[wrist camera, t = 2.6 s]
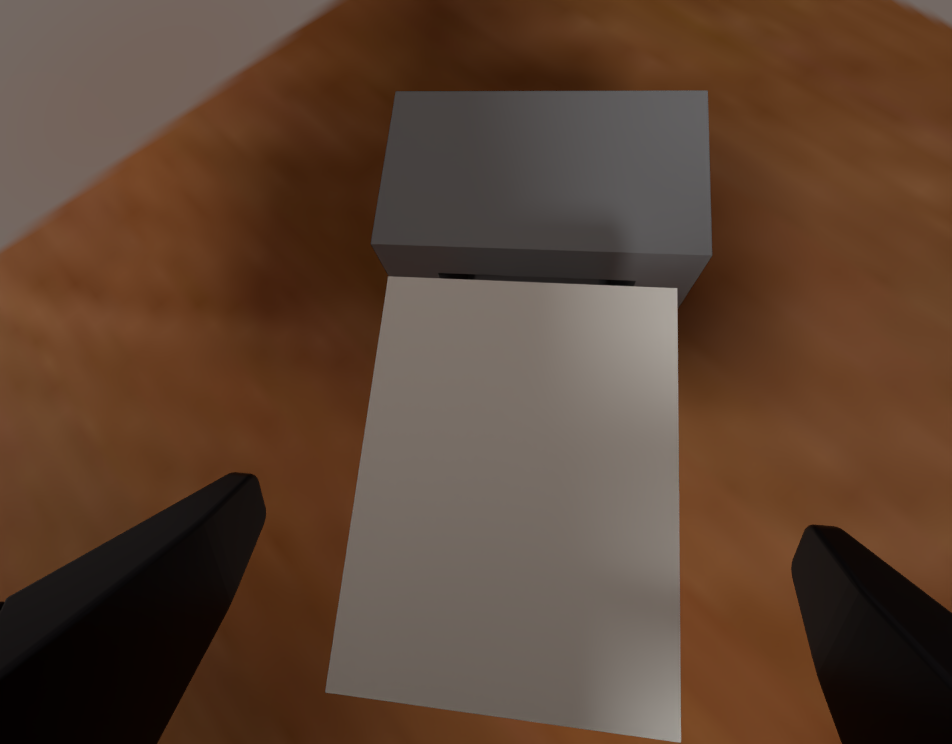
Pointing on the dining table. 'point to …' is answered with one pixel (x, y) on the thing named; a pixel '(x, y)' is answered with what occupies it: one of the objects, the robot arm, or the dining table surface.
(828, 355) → the dining table surface
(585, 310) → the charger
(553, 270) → the block
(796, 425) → the dining table surface
